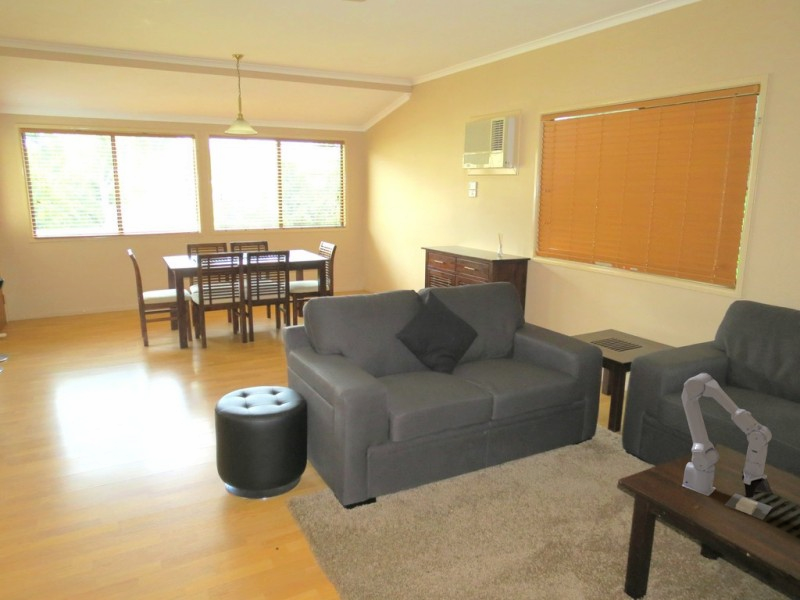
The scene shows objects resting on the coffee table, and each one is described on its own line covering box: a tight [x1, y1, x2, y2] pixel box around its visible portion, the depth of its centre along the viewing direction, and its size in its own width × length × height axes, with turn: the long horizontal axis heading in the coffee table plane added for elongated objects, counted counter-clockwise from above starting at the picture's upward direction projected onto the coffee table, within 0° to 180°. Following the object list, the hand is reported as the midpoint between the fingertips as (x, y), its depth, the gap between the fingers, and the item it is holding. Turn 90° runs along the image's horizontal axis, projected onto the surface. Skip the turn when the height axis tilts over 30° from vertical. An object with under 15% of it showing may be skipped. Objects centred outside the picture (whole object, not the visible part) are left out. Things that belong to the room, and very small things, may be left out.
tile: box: [734, 496, 758, 516], centre depth 198 cm, size 5×2×7 cm
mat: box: [724, 492, 773, 521], centre depth 200 cm, size 12×12×1 cm
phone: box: [741, 470, 772, 495], centre depth 216 cm, size 8×1×15 cm
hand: (749, 495), depth 198 cm, fingers closed
